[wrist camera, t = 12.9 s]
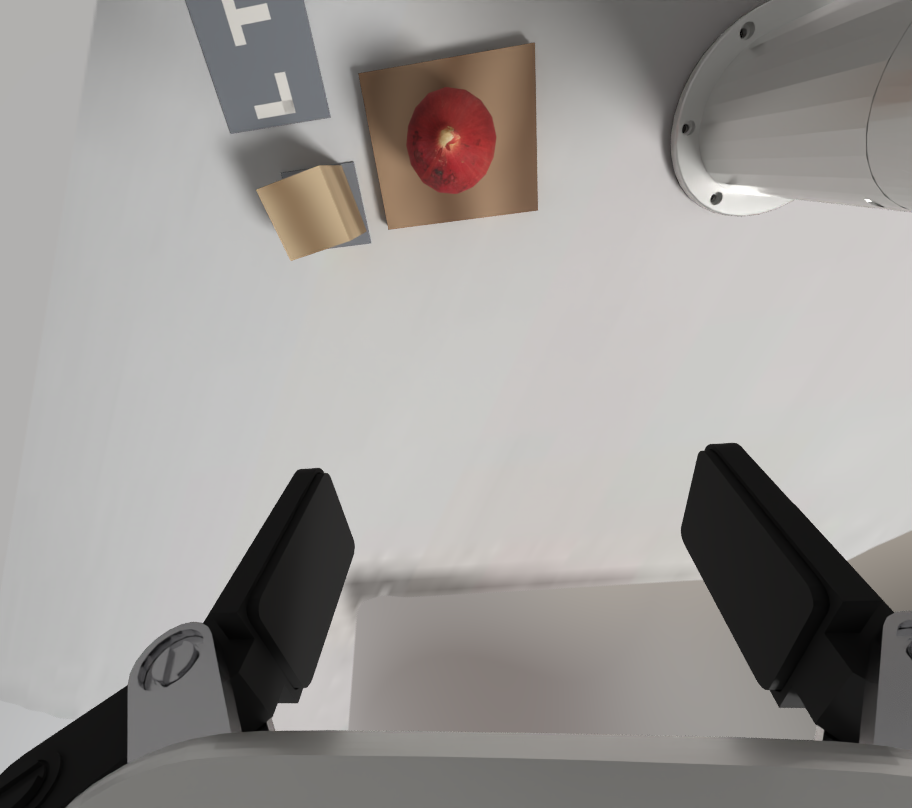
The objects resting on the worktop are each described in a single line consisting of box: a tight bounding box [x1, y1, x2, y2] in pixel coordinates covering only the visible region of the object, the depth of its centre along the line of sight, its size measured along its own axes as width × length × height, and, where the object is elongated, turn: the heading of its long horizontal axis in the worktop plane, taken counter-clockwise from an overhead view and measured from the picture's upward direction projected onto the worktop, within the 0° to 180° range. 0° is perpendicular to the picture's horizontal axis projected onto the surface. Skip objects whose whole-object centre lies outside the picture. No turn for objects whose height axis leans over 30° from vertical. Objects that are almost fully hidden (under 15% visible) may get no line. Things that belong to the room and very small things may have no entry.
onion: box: [406, 87, 497, 194], centre depth 26 cm, size 6×6×8 cm
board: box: [358, 43, 538, 230], centre depth 30 cm, size 12×10×1 cm
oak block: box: [256, 165, 367, 261], centre depth 31 cm, size 5×5×5 cm
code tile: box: [185, 0, 331, 134], centre depth 28 cm, size 8×8×1 cm
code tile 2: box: [281, 162, 371, 249], centre depth 33 cm, size 6×6×1 cm
